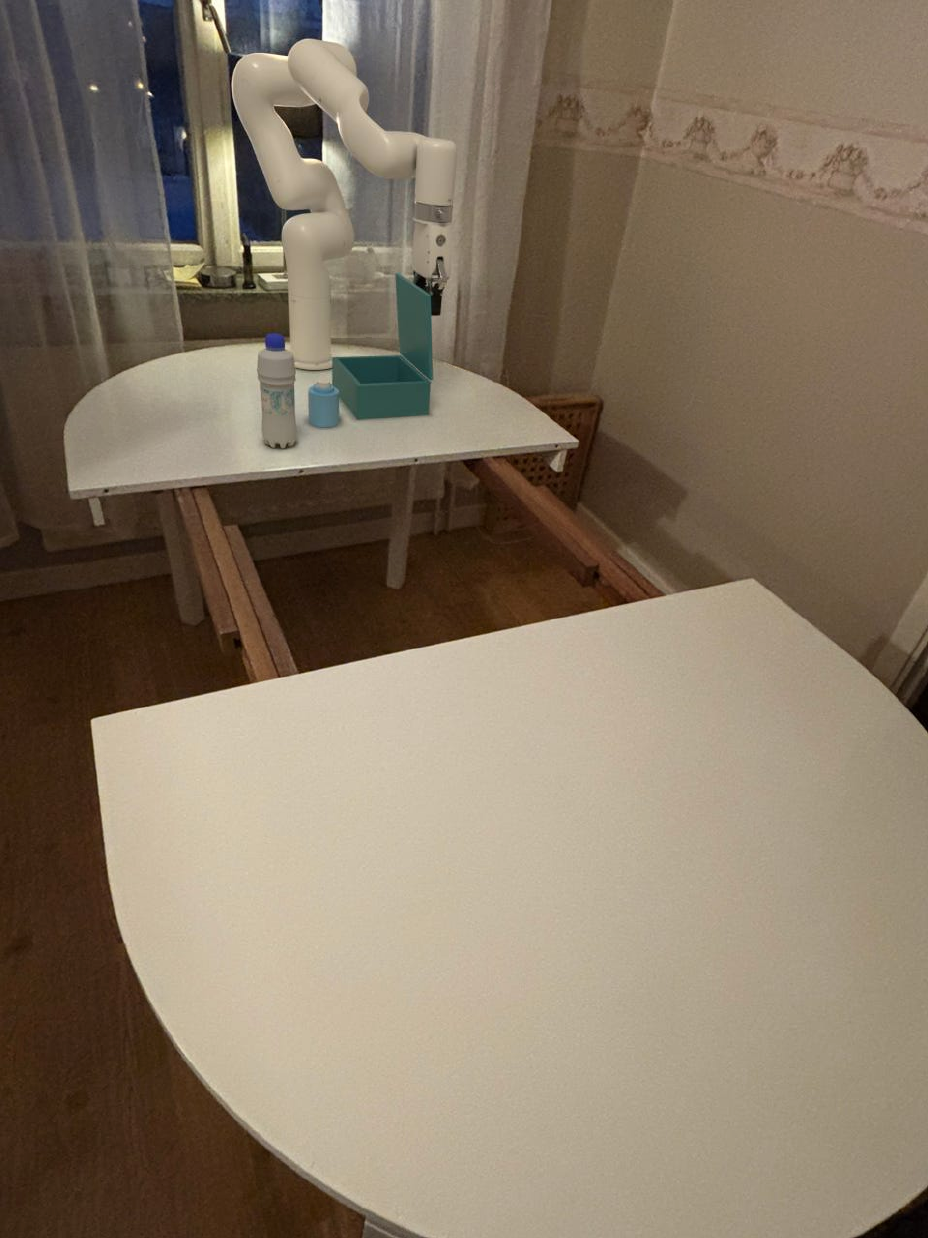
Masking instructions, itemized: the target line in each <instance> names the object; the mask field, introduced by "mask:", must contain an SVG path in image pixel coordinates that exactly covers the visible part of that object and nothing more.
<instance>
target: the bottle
mask: <svg viewBox="0 0 928 1238" xmlns="http://www.w3.org/2000/svg"><path fill="white" fill-rule="evenodd" d="M264 345H265V348H264V349H261V350H260V351H259V352H258V354H257V366H256V367H257V368H256V372H257V380H258V381H259V389H260V405H261V407H260V408H261V436H262V440H263V442H264V444H266V445H267V446H270V447H271V448H274V449H275V448H276V447H277V444H279V446H280V449H285V448H286V447H292V446H294V443H295V441H296V438H297V420H296V405H295V403H296V402H295V382H296V380H297V378H296V373H297V370H296V367H295V365H294V358H293V354H292V353H291V352H290V350H288V349H286V339H285V337H284V336H283V334H280V333H274V332H273V333H268V334H267V335H266V336H265V338H264Z"/></svg>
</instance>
